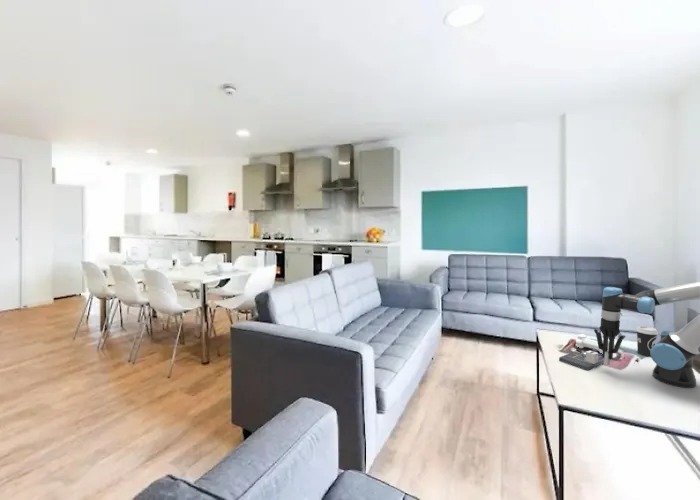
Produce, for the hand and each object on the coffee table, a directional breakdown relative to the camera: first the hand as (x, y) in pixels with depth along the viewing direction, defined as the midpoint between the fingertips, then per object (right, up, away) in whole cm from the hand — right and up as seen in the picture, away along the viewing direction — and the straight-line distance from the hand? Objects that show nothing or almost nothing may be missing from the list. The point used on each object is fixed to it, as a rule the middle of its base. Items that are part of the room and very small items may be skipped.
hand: (606, 364), depth 175 cm
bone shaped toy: (+11, -1, +26) cm, 29 cm away
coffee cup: (+37, -1, +21) cm, 42 cm away
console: (-6, -2, +11) cm, 12 cm away
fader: (-4, -1, +6) cm, 7 cm away
